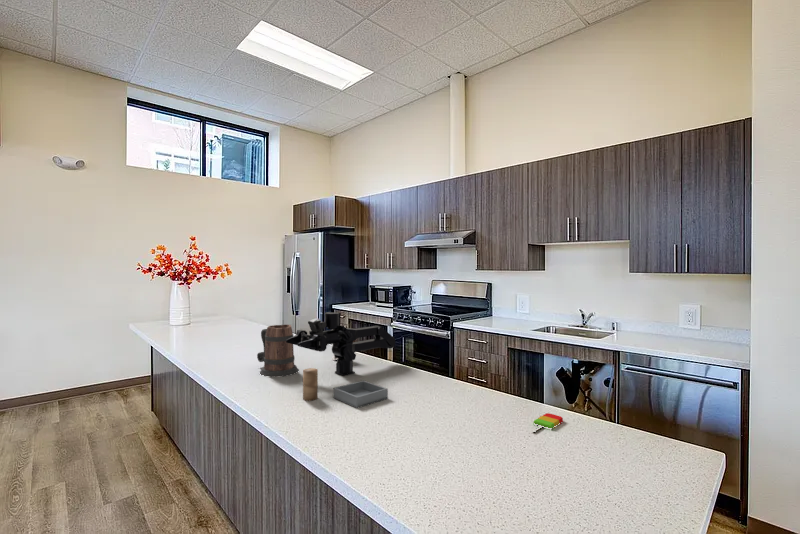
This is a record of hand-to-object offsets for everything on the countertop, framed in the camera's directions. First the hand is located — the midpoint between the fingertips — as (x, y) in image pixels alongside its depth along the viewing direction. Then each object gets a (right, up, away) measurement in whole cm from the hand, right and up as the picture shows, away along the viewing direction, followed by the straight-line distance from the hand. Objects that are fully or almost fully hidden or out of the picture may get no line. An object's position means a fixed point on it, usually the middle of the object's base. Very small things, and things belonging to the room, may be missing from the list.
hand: (291, 342), depth 156 cm
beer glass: (+12, -16, +42) cm, 47 cm away
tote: (+28, -17, -14) cm, 36 cm away
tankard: (-14, -16, +22) cm, 31 cm away
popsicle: (+85, -18, -37) cm, 95 cm away
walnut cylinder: (+10, -17, -15) cm, 25 cm away
